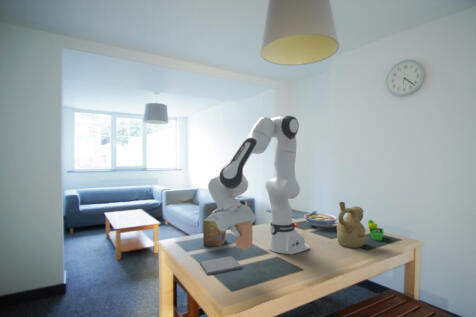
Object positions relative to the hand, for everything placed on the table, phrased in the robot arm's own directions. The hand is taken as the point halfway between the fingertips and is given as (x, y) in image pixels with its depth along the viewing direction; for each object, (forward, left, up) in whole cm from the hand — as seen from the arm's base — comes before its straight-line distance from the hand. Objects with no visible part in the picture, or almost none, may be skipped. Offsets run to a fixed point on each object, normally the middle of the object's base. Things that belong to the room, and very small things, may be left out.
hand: (245, 234), depth 104 cm
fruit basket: (-96, -12, -18) cm, 98 cm away
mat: (+6, -13, -17) cm, 23 cm away
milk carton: (-2, -44, -18) cm, 48 cm away
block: (0, -1, -5) cm, 5 cm away
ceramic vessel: (-72, -10, -18) cm, 75 cm away
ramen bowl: (-83, -46, -18) cm, 97 cm away
